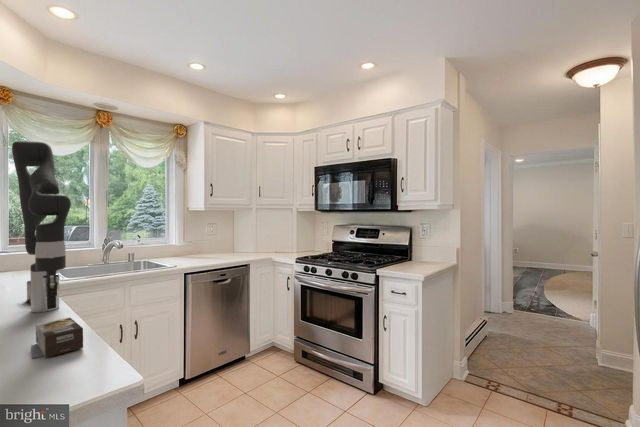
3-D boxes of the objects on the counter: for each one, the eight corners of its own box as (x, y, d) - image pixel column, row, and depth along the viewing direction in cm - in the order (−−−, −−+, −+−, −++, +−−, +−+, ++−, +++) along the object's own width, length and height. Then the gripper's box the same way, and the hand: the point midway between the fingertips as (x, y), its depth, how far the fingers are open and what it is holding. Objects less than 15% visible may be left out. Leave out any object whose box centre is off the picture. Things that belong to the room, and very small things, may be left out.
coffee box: (70, 316, 108) (84, 327, 98) (70, 335, 108) (84, 348, 98) (35, 323, 101) (45, 336, 91) (35, 343, 101) (45, 358, 91)
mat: (31, 346, 100) (31, 345, 100) (71, 337, 107) (71, 336, 107) (32, 359, 92) (32, 357, 92) (75, 348, 98) (75, 347, 98)
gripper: (34, 254, 106) (35, 306, 106) (35, 258, 96) (36, 315, 96) (63, 252, 111) (64, 301, 111) (67, 256, 101) (68, 310, 101)
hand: (51, 308), depth 104 cm, fingers closed
